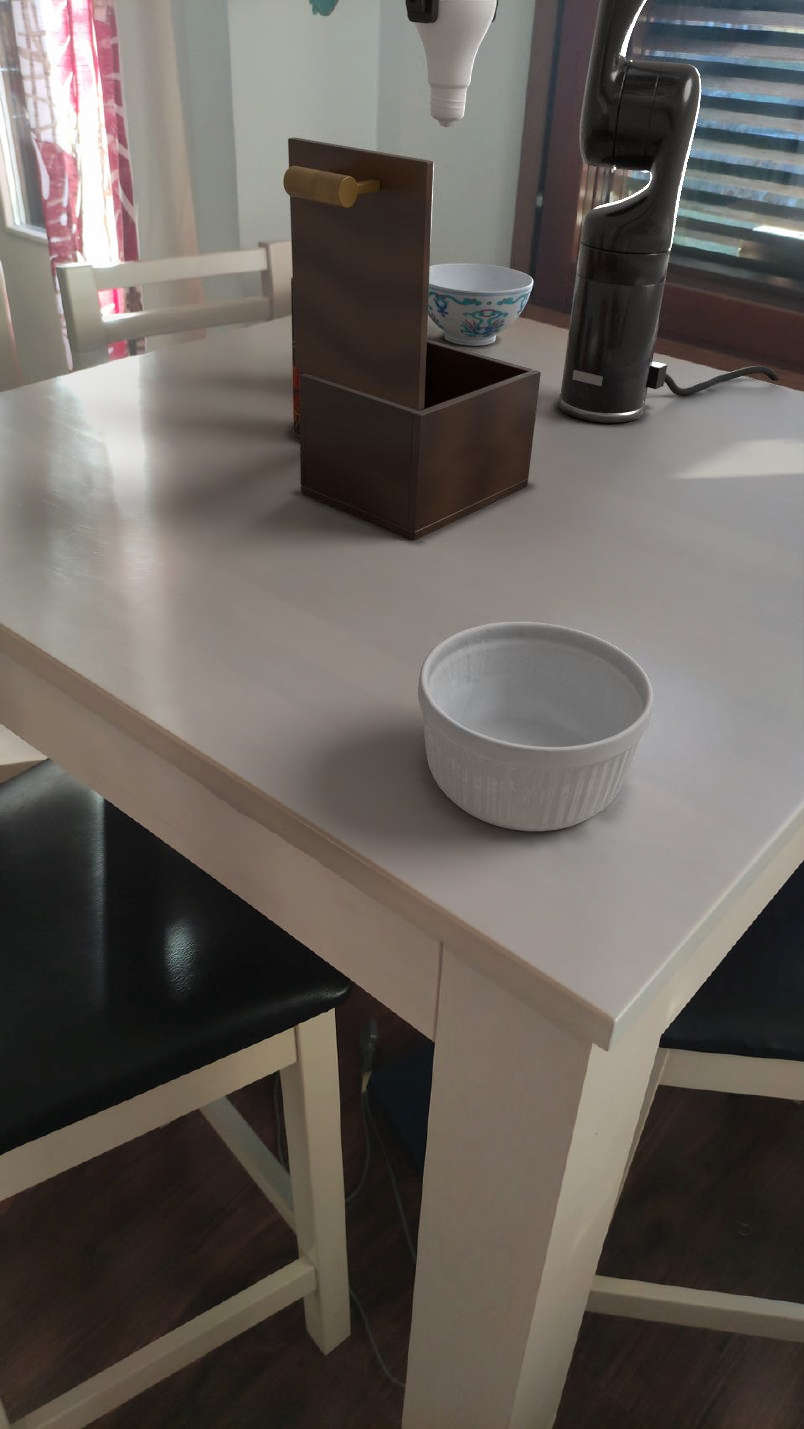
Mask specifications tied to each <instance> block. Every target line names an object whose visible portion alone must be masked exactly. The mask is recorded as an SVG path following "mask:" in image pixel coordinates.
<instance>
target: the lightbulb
mask: <svg viewBox="0 0 804 1429" xmlns="http://www.w3.org/2000/svg"><path fill="white" fill-rule="evenodd" d="M496 2H497V0H439V3H438V18H437V20H436V22H434V23H416V22H414V24H415V27H416V30H417V32H418V35H419V37H420V40H421V42H422V45H423V49H424V53H425V58H426V65H427V83H428V85H429V86H430V87H429V88H430V94H429V95H430V96H429V97H430V101H429V102H430V116H431V117H432V118H433V119H435V120H437V122H438V124H439V126H441V127H444V128H450V127H454V126H455V124H456V122H457V121H460V120H462V119H463V118H464V116H465V109H466V102H467V90H468V88H469V86H470V85H471V80H472V79H471V78H472V72H473V67H474V63H475V59H476V56H477V53H478V50H479V47H480V46H481V43H482V41H483V39H484V38H485V36H486V34H487V32H488V30H489V28H490V26H491V24H492V23H491V21H492V19H493V17H494V13H495V9H496Z"/></svg>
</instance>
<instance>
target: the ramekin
mask: <svg viewBox="0 0 804 1429" xmlns="http://www.w3.org/2000/svg"><path fill="white" fill-rule="evenodd" d="M423 660H424V661H423V663H422V665H421V668H420V671H419V676H418V677H419V678H418V683H417V684H418V686H417V698H418V703H419V707H420V710H421V712H422V724H423V733H424V734H423V735H424V736H423V737H424V744H425V754H426V758H427V764H428V768H429V770H430V772H431V774H432V775H431V776H432V777H433V779H434V781H435V782H436V784H437V786H438V787H439V789H440V790H441V791H442V792H443V793H444V795H446V797H447V798H449V800H451V801H452V803H454V804H455V805H456V806H457V807H458V808H459V809H461V810H462V811H464V812H465V813H467V814H468V815H470V816H472V817H474V818H475V819H478V820H480V821H483V822H485V823H487V824H490V825H493V826H496V827H499V828H503V829H508V830H513V831H514V830H515V831H519V832H520V831H521V832H522V831H523V832H550V831H558V830H562V829H567V828H570V827H574V826H576V825H579V824H581V823H583V822H585V821H586V820H589V819H590V818H592V817H595V816H596V815H598V814H599V812H601V811H603V810H605V809H606V808H607V807H608V805H610V804H611V803H612V802H613V801H614V799H615V798H616V796H617V795H618V794H619V793H620V791H621V789H622V787H623V784H624V782H625V780H626V777H627V775H628V772H629V770H630V767H631V765H632V763H633V761H634V757H635V754H636V752H637V749H638V746H639V744H640V741H641V739H642V737H643V736H644V734H645V733H646V731H647V730H648V727H649V725H650V722H651V719H652V713H653V709H654V708H653V706H654V689H653V685H652V682H651V680H650V678H649V676H648V675H647V673H646V672H645V671H644V669H643V667H642V666H641V665H640V664H639V663H638V662H637V661H636V660H635V659H634V658H632V657H631V656H630V655H629V654H628V653H627V652H625V651H623V650H622V649H621V648H619V647H617V646H616V645H614V644H613V643H611V642H609V641H607V640H604V639H603V638H600V637H598V636H596V635H593V634H591V633H588V632H585V631H582V630H579V629H575V628H572V627H569V626H563V625H560V624H553V623H547V622H536V621H521V620H519V621H499V622H491V623H487V624H486V623H485V624H481V625H477V626H473V627H470V628H466V629H464V630H461V631H458V632H456V633H454V634H452V635H450V636H448V637H447V638H445V639H443V640H442V641H440V642H439V643H438V644H437V645H436V646H434V647H433V648H432V649H431V650H430V651H429V653H428V654H427V656H426V657H425V659H423Z"/></svg>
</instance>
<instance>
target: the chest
mask: <svg viewBox="0 0 804 1429" xmlns="http://www.w3.org/2000/svg"><path fill="white" fill-rule="evenodd" d="M541 373H542V371H540V370H536V369H532V368H529V367H526V366H522V365H519V364H515V363H512V362H508V361H504V360H502V359H497V358H494V357H491V356H487V355H484V354H481V353H476V352H473V351H471V350H466V349H462V348H459V347H457V346H452V345H448V344H445V343H443V342H442V343H441V342H438V341H435V340H432V339H428V338H427V348H426V373H425V399H424V409H421V410H419V411H417V410H414V409H411V408H408V407H405V406H402V405H399V404H396V403H393V402H390V401H387V400H384V399H381V398H378V397H375V396H372V395H369V394H366V393H363V392H360V391H357V390H354V389H351V388H348V387H345V386H342V385H339V384H336V383H333V382H330V381H327V380H324V379H321V378H318V377H315V376H312V375H309V374H306V373H304V374H300V375H299V400H300V439H299V456H300V457H299V459H300V460H299V461H300V462H299V463H300V466H299V467H300V493H301V494H302V495H304V496H307V497H309V498H312V499H313V500H316V501H319V502H321V503H323V504H326V505H329V506H331V507H334V508H335V509H338V510H341V511H343V512H345V513H347V514H350V515H351V516H352V515H353V516H355V517H357V518H360V519H362V520H365V521H367V522H368V523H372V524H374V525H377V526H378V527H382V528H384V529H386V530H389V531H391V532H393V533H396V534H398V535H401V536H403V537H405V538H408V539H410V540H412V541H416V540H418V539H420V538H422V537H425V536H426V535H428V534H430V533H432V532H434V531H437V530H439V529H441V528H443V527H445V526H447V525H450V524H451V523H453V522H456V521H457V520H460V519H462V518H464V517H466V516H468V515H470V514H472V513H474V512H476V511H478V510H481V509H483V508H485V507H487V506H489V505H491V504H493V503H495V502H497V501H500V500H501V499H504V498H505V497H508V496H509V495H511V494H514V493H516V492H518V491H520V490H523V489H524V488H527V487H528V485H529V484H528V483H529V477H530V476H529V475H530V468H531V460H532V453H533V452H532V451H533V442H534V434H535V427H536V416H537V410H538V409H537V408H538V401H539V392H540V384H541V375H542V374H541Z"/></svg>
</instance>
